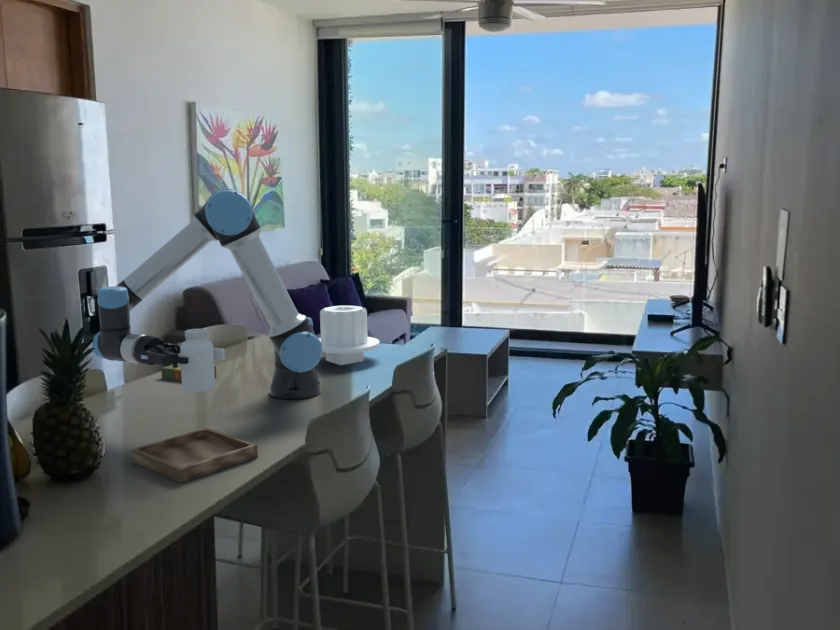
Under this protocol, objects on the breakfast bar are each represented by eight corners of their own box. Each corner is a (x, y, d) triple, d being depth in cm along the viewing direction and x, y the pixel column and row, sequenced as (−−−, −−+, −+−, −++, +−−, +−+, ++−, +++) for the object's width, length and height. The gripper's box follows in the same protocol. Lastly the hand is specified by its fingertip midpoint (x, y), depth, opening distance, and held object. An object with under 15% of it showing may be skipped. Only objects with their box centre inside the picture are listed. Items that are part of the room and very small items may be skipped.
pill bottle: (202, 394, 185) (199, 334, 183) (175, 391, 188) (171, 332, 185) (221, 386, 193) (218, 328, 190) (195, 384, 195) (191, 326, 193)
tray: (207, 439, 188) (206, 427, 188) (257, 457, 176) (257, 444, 175) (132, 461, 173) (131, 449, 173) (181, 483, 160) (180, 469, 160)
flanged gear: (354, 350, 289) (353, 301, 286) (393, 361, 270) (393, 309, 266) (296, 360, 273) (294, 308, 270) (333, 372, 254) (332, 317, 251)
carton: (200, 384, 243) (199, 371, 242) (161, 379, 249) (160, 367, 248) (216, 378, 250) (216, 365, 249) (178, 373, 257) (177, 361, 256)
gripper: (173, 355, 207) (240, 363, 197) (112, 372, 188) (182, 382, 178) (172, 328, 205) (239, 335, 195) (110, 342, 187) (180, 351, 177)
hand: (212, 357), depth 187 cm, fingers closed on pill bottle, 8 cm apart
